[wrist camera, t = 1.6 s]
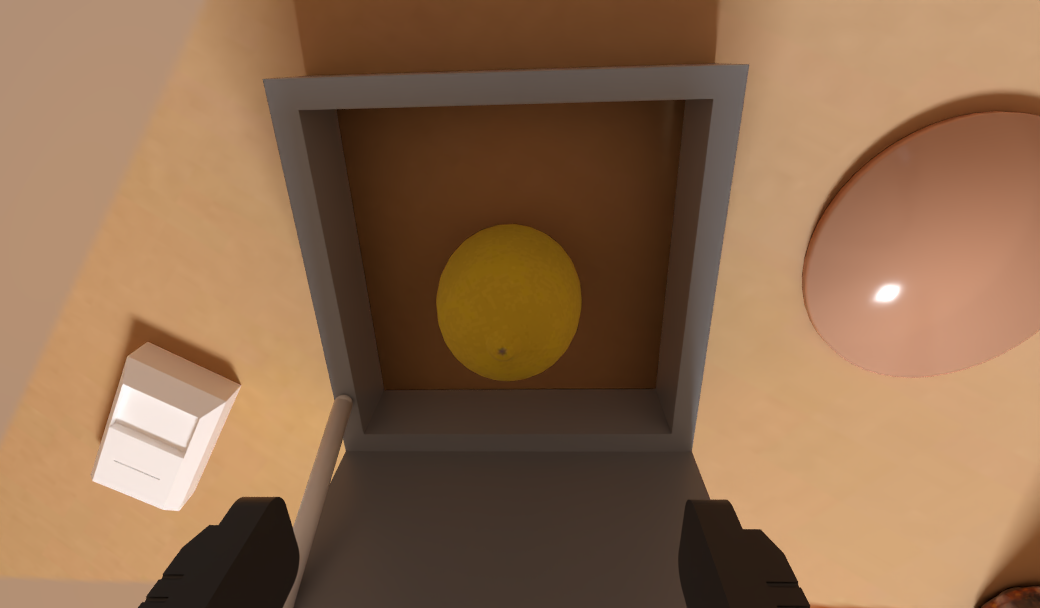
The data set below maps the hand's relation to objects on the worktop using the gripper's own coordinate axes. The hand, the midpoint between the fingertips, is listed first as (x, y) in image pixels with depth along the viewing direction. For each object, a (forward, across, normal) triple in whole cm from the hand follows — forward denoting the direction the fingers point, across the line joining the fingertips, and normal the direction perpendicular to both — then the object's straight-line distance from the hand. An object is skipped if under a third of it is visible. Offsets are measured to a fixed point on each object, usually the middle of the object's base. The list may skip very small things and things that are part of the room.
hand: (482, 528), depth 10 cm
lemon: (+15, 0, 0) cm, 15 cm away
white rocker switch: (+15, +19, +9) cm, 26 cm away
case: (+15, 0, 0) cm, 15 cm away
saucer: (+15, -19, 0) cm, 24 cm away
